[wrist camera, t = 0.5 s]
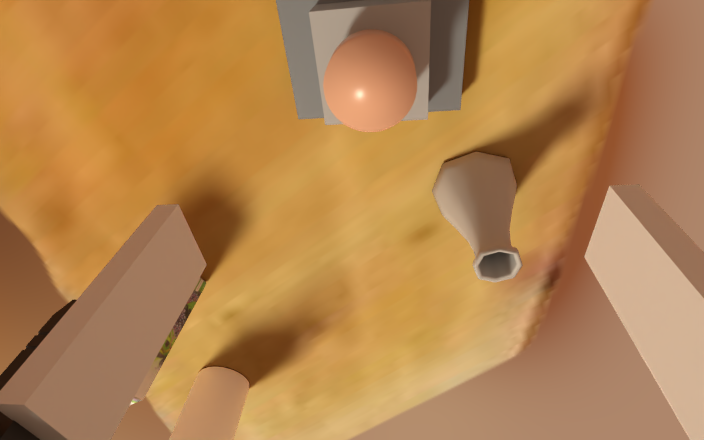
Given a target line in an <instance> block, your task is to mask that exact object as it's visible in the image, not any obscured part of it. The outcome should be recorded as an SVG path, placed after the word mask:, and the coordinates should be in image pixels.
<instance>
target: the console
mask: <svg viewBox="0 0 704 440" xmlns="http://www.w3.org/2000/svg"><path fill="white" fill-rule="evenodd" d="M276 3H277V8H278V14H279V19H280V24H281V29H282V35H283V40H284V45H285V50H286V56H287V61H288V66H289V71H290V77H291V82H292V87H293V92H294V98H295V103H296V108H297V114H298V119H312V118H324V119H325V125H334V124H343V123H342V122H341V121H340V120H338V119H337V118H336V117H335V115H334V114H333V113H332V111H331V110H330V108H329V106H328V104H327V102H326V99H325V95H324V88H323V82H324V75H325V71H326V68H327V66H328V63H329V61H330V59H331V57H332V55H333V53H334V51H335V49H336V48H337V46H338V45H339V44H340V43H341V42H342V41H343V40H344V39H345V38H347V37H348V36H350V35H351V34H353V33H356V32H358V31H362V30H367V29H377V30H382V31H386V32H388V33H391V34H393V35H394V36H396V37H398V38H399V39H400V40H401V41H402V42H403V43H404V44H405V45H406V46H407V48H408V49H409V51H410V53H411V55H412V57H413V60H414V64H415V70H416V76H417V93H416V98H415V101H414V103H413V105H412V107H411V109H410V111H409V112H408V114H407V115H406V116H405V117H404V118H403V119H402V120H401V121H406V120H424V119H428V112H432V111H450V110H460V108H461V95H462V83H463V71H464V58H465V46H466V33H467V21H468V8H469V0H276Z"/></svg>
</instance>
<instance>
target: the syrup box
mask: <svg viewBox="0 0 704 440" xmlns="http://www.w3.org/2000/svg"><path fill="white" fill-rule="evenodd" d="M205 285H206V282H205V281H204V280H203V279H202V278H199V280H198V282H197V283H196V285H195V287H194V289H193V291H192V293H191V294H190V296H189V298H188V300H187V302H186V304H185V305H184V307H183V309H182V311H181V313H180V314H179V316H178V318H177V320H176V322H175V324H174V325H173V327H172V329H171V331H170V333H169V334H168V336H167V338H166V340H165V342H164V344H163V345H162V347H161V349H160V351H159V353H158V355H157V356H156V358H155V360H154V362H153V364H152V365H151V367H150V369H149V371H148V373H147V375H146V376H145V378H144V380H143V382H142V384H141V385H140V387H139V389H138V391H137V393H136V395H135V396H134V398H133V400H132V402H131V404H134V403H136V402H139V401H142V400H143V399H144V397H145V395H146V393H147V392H148V390H149V388H150V386H151V384H152V382H153V381H154V379H155V377H156V375H157V373H158V371H159V370H160V368H161V366H162V364H163V362H164V360H165V359H166V357H167V355H168V353H169V351H170V349H171V348H172V346H173V344H174V342H175V340H176V338H177V337H178V335H179V333H180V331H181V329H182V327H183V326H184V324H185V322H186V320H187V318H188V316H189V315H190V313H191V311H192V309H193V307H194V305H195V304H196V302H197V300H198V298H199V296H200V294H201V293H202V291H203V289H204V287H205ZM131 404H130V405H131Z"/></svg>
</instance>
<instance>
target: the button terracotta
mask: <svg viewBox="0 0 704 440" xmlns="http://www.w3.org/2000/svg"><path fill="white" fill-rule="evenodd" d="M323 88H324V95H325V99H326V102H327V104H328V106H329V108H330V110H331V111H332V113H333V114H334V115H335V117H336V118H337V119H338V120H340V121H341V122H342V123H343V124H345V125H346V126H348V127H350V128H352V129H355V130H358V131H363V132H378V131H382V130H386V129H388V128H390V127H392V126H394V125H396V124H397V123H399V122H400V121H401V120H402V119H403V118H404V117H405V116H406V115H407V114H408V112H409V111H410V109H411V107H412V105H413V103H414V101H415V98H416V93H417V76H416V70H415V64H414V60H413V57H412V55H411V53H410V51H409V49H408V48H407V46H406V45H405V44H404V43H403V42H402V41H401V40H400V39H399V38H398V37H396V36H394V35H393V34H391V33H388V32H386V31H382V30H377V29H367V30H362V31H358V32H356V33H353V34H351V35H350V36H348V37H347V38H345V39H344V40H343V41H342V42H341V43H340V44H339V45H338V46H337V48H336V49H335V51H334V53H333V55H332V57H331V59H330V61H329V63H328V66H327V68H326V71H325V75H324V82H323Z"/></svg>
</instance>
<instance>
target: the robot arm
mask: <svg viewBox="0 0 704 440" xmlns="http://www.w3.org/2000/svg"><path fill="white" fill-rule="evenodd" d="M585 259H586V261H587V263H588V264H589V266H590V268H591V269H592V271H593V273H594V274H595V276H596V278H597V280H598V282H599V283H600V285H601V287H602V288H603V290H604V292H605V294H606V295H607V297H608V299H609V301H610V302H611V304H612V305H613V308H614V309H615V311H616V313H617V314H618V316H619V318H620V320H621V321H622V323H623V325H624V327H625V328H626V330H627V332H628V333H629V335H630V337H631V339H632V340H633V342H634V344H635V346H636V347H637V349H638V351H639V352H640V354H641V356H642V358H643V359H644V361H645V363H646V364H647V366H648V368H649V370H650V371H651V373H652V375H653V377H654V378H655V380H656V382H657V383H658V385H659V387H660V389H661V391H662V392H663V394H664V396H665V398H666V399H667V401H668V403H669V404H670V406H671V408H672V410H673V411H674V413H675V415H676V417H677V418H678V420H679V422H680V423H681V425H682V427H683V429H684V430H685V432H686V434H687V436H688V437H689V439H690V440H704V252H703V251H702V250H701V249H700V248H699V247H698V246H697V245H696V244H695V242H694V241H693V240H692V239H691V238H690V237H689V236H688V235H687V234H686V233H685V232H684V231H683V230H682V229H681V228H680V227H679V226H678V225H677V224H676V223H675V222H674V221H673V219H672V218H671V217H670V216H669V215H668V214H667V213H666V212H665V211H664V210H663V209H662V208H661V207H660V206H659V205H658V204H657V203H656V202H655V200H654V199H653V198H652V197H651V196H650V195H649V194H648V193H647V192H646V191H645V190H644V189H643V188H642V187H641V186H640V185H639V184H637V185H614V186H609V189H608V192H607V195H606V198H605V200H604V203H603V206H602V209H601V212H600V214H599V217H598V220H597V223H596V226H595V228H594V231H593V234H592V237H591V240H590V243H589V245H588V248H587V251H586V254H585ZM206 265H207V264H206V262H205V260H204V258H203V255H202V253H201V251H200V249H199V247H198V245H197V243H196V241H195V238H194V236H193V234H192V232H191V230H190V228H189V226H188V224H187V221H186V219H185V217H184V215H183V213H182V211H181V209H180V207H179V204H174V205H157V206H156V207H155V208H154V209H153V211H152V212H151V213H150V214H149V215H148V216H147V218H146V219H145V220H144V221H143V222H142V224H141V225H140V226H139V227H138V228H137V229H136V231H135V232H134V233H133V234H132V235H131V237H130V238H129V239H128V240H127V241H126V242H125V244H124V245H123V246H122V247H121V248H120V250H119V251H118V252H117V253H116V254H115V256H114V257H113V258H112V259H111V260H110V261H109V263H108V264H107V265H106V266H105V267H104V269H103V270H102V271H101V272H100V273H99V274H98V276H97V277H96V278H95V279H94V280H93V282H92V283H91V284H90V285H89V286H88V288H87V289H86V290H85V291H84V292H83V293H82V295H81V296H80V297H79V298H78V299H77V300H72V301H71V302H69V303H68V304H67V305H66V306H64V307H63V308H62V309H60V310H59V311H58V312H56V313H55V314H54V315H53V316H52V317H51V318H50V319H49V321H48V322H47V323H46V324H45V325H44V326H43V327H42V328H41V330H40V331H39V334H38V335H37V336H34V338H33V339H32V340H31V341H30V342H29V343H28V345H27V346H26V349H25V350H22V351H21V353H20V354H19V355H18V356H17V357H16V358H15V359H14V361H13V362H12V363H11V364H10V365H9V366H8V368H7V369H6V370H5V371H4V372H3V373H2V374H1V375H0V440H111V438H112V436H113V435H114V433H115V431H116V429H117V427H118V426H119V424H120V422H121V420H122V418H123V416H124V415H125V413H126V411H127V409H128V407H129V406H130V404H131V402H132V400H133V398H134V396H135V395H136V393H137V391H138V389H139V387H140V385H141V384H142V382H143V380H144V378H145V376H146V375H147V373H148V371H149V369H150V367H151V365H152V364H153V362H154V360H155V358H156V356H157V355H158V353H159V351H160V349H161V347H162V345H163V344H164V342H165V340H166V338H167V336H168V334H169V333H170V331H171V329H172V327H173V325H174V324H175V322H176V320H177V318H178V316H179V314H180V313H181V311H182V309H183V307H184V305H185V304H186V302H187V300H188V298H189V296H190V294H191V293H192V291H193V289H194V287H195V285H196V283H197V282H198V280H199V278H200V276H201V274H202V273H203V271H204V269H205V267H206Z"/></svg>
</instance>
